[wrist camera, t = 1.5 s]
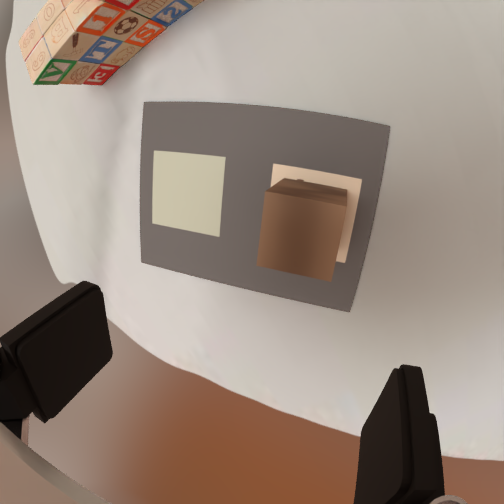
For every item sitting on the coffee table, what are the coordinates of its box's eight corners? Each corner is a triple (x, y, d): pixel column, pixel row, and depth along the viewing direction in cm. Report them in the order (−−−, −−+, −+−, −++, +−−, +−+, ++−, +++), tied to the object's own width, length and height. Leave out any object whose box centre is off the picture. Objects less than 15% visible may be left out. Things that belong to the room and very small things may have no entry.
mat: (389, 126, 21) (390, 126, 21) (349, 311, 27) (349, 312, 27) (145, 102, 26) (143, 102, 26) (142, 261, 32) (141, 262, 32)
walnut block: (347, 189, 24) (347, 206, 18) (335, 249, 25) (331, 281, 20) (284, 177, 25) (265, 191, 19) (276, 237, 27) (256, 265, 21)
